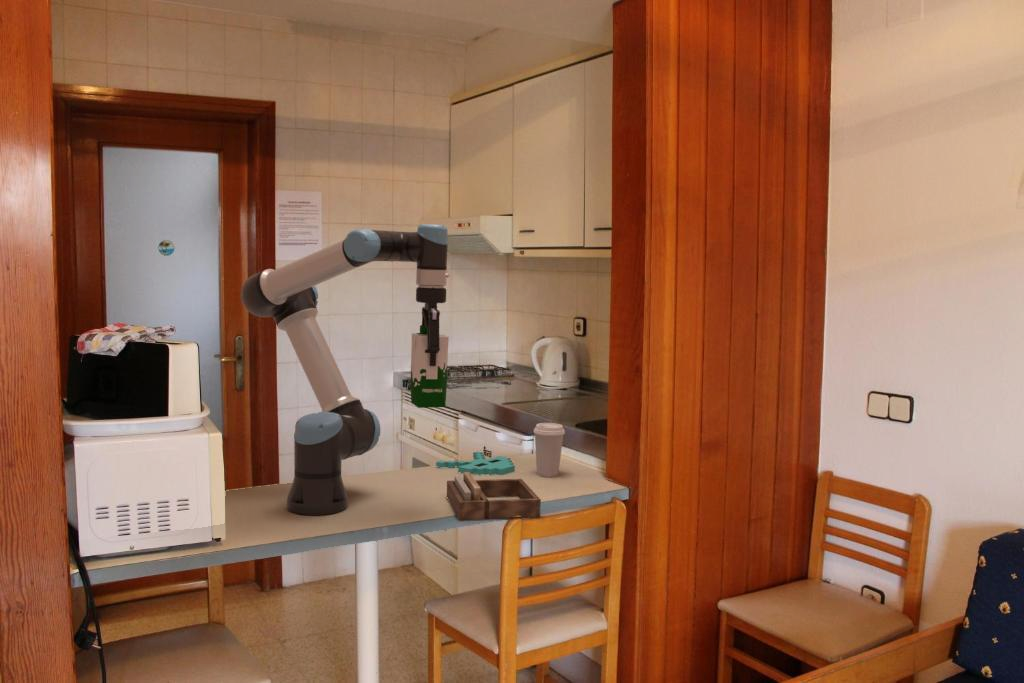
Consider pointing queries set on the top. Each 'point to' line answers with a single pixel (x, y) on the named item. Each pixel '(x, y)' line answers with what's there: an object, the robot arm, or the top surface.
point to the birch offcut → (472, 486)
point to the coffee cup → (548, 448)
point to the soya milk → (424, 389)
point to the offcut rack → (496, 508)
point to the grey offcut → (462, 488)
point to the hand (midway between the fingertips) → (428, 376)
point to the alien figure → (481, 465)
